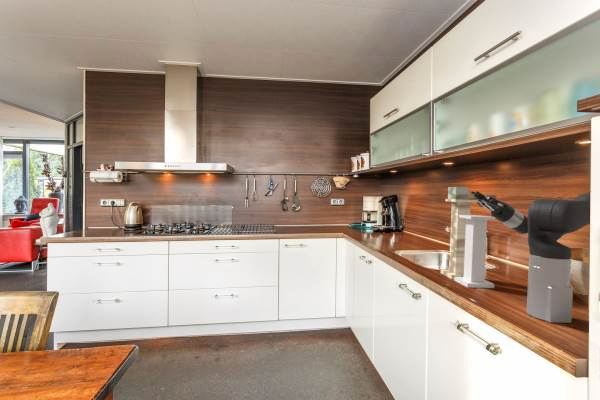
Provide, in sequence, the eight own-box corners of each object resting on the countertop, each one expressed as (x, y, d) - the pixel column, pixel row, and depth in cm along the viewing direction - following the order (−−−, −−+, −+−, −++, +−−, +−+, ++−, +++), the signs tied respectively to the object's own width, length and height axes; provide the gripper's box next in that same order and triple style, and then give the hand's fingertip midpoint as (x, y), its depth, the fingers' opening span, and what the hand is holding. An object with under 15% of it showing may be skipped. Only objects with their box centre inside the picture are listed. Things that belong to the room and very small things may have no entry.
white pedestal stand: (494, 288, 114) (497, 217, 113) (467, 287, 113) (470, 216, 113) (479, 281, 123) (482, 215, 122) (454, 280, 122) (457, 214, 122)
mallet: (499, 200, 126) (499, 188, 125) (455, 199, 125) (456, 186, 125) (489, 200, 132) (490, 188, 131) (447, 198, 131) (448, 187, 131)
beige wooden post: (476, 279, 125) (479, 200, 124) (451, 279, 124) (455, 199, 123) (463, 273, 134) (466, 199, 133) (440, 273, 133) (443, 198, 132)
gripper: (514, 224, 122) (478, 201, 121) (491, 221, 136) (459, 200, 135) (524, 208, 122) (488, 185, 121) (500, 206, 136) (468, 185, 135)
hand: (473, 193), depth 128 cm, fingers closed on mallet, 2 cm apart
